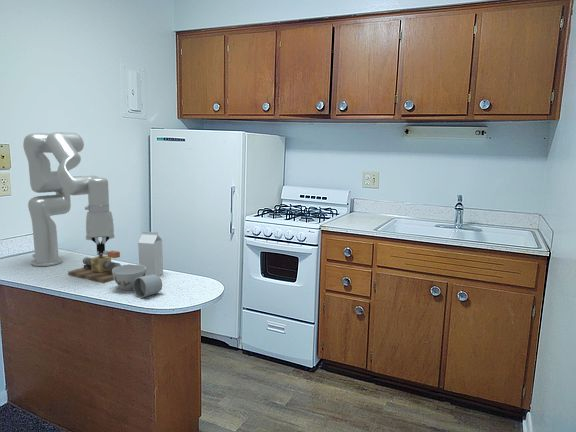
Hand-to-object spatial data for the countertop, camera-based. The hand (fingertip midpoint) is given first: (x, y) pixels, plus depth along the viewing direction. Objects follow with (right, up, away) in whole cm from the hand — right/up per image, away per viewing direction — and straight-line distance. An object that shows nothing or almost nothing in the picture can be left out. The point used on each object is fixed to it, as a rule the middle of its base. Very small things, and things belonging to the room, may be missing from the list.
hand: (100, 252), depth 174 cm
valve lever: (0, -2, +6) cm, 6 cm away
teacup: (+16, -13, -7) cm, 22 cm away
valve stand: (-4, -10, +9) cm, 14 cm away
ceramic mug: (+23, -15, -15) cm, 31 cm away
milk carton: (+18, -11, +8) cm, 23 cm away
